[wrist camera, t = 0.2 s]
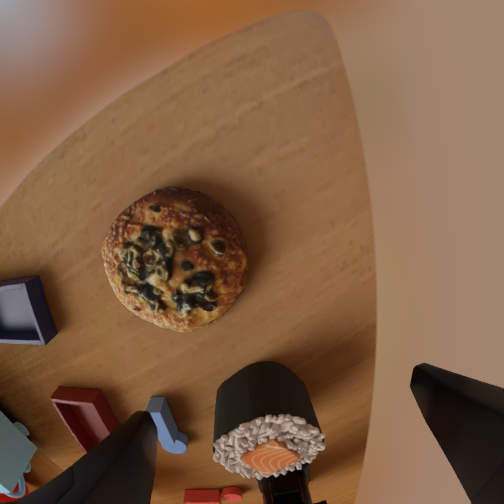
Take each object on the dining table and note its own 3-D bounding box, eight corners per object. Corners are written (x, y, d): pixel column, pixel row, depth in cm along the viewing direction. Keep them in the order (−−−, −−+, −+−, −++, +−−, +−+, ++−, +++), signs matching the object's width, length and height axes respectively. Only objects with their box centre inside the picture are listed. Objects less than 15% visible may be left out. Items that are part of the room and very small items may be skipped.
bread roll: (244, 178, 20) (244, 187, 16) (252, 312, 24) (254, 350, 20) (103, 193, 20) (70, 207, 16) (129, 316, 24) (110, 350, 19)
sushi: (321, 393, 25) (344, 451, 18) (255, 434, 26) (262, 493, 18) (269, 345, 24) (283, 408, 16) (200, 394, 24) (191, 458, 17)
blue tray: (39, 274, 21) (24, 282, 19) (57, 333, 22) (45, 345, 20) (-18, 284, 21) (-31, 290, 18) (-2, 333, 22) (-13, 342, 20)
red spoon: (240, 485, 29) (241, 499, 26) (243, 494, 29) (244, 507, 27) (183, 487, 28) (182, 500, 26) (189, 495, 29) (187, 508, 27)
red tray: (135, 451, 26) (131, 465, 24) (95, 447, 26) (89, 459, 24) (100, 389, 24) (92, 403, 22) (58, 386, 24) (49, 398, 21)
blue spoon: (191, 445, 26) (189, 460, 24) (167, 445, 26) (164, 460, 24) (171, 396, 24) (166, 412, 22) (144, 396, 24) (138, 412, 22)
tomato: (19, 484, 30) (2, 517, 18) (-14, 450, 28) (-36, 482, 15) (46, 491, 30) (29, 531, 18) (8, 455, 27) (-16, 495, 15)
